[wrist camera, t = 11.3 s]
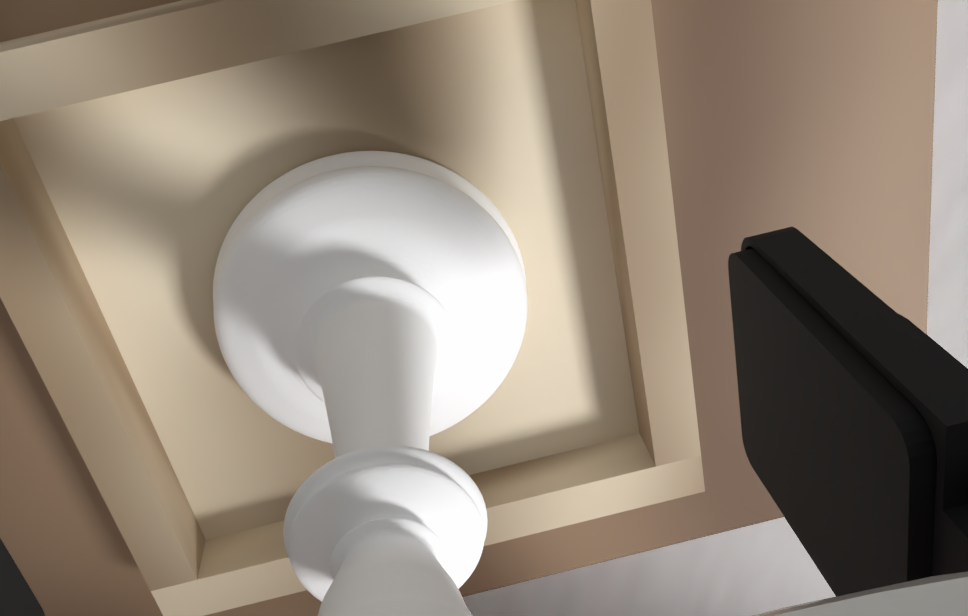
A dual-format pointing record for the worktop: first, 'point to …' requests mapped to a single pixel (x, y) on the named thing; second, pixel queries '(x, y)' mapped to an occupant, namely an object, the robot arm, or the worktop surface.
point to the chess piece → (374, 364)
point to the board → (502, 179)
